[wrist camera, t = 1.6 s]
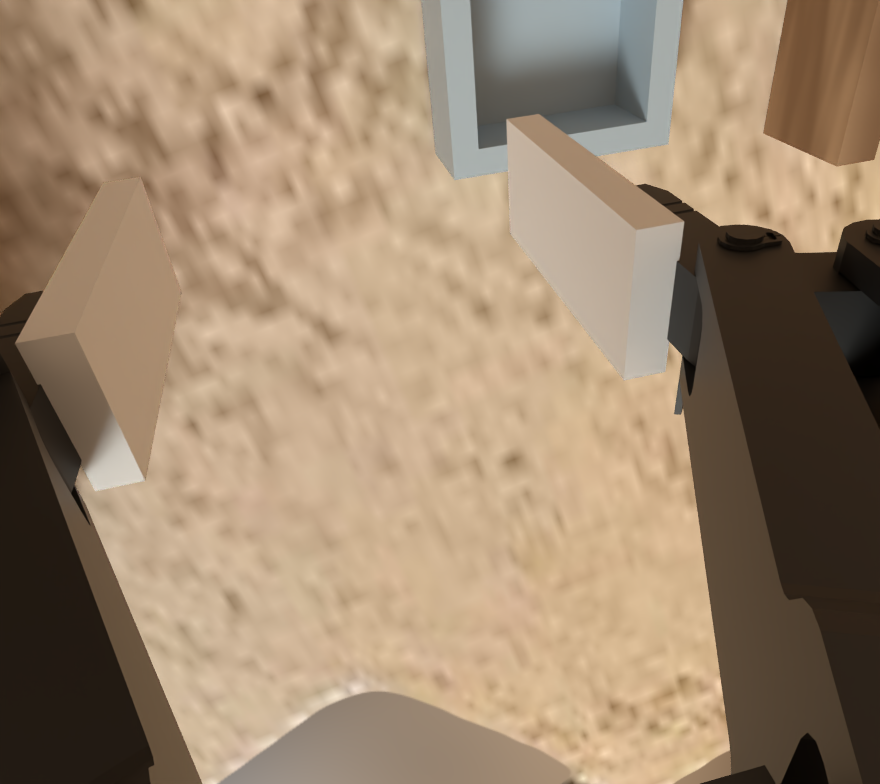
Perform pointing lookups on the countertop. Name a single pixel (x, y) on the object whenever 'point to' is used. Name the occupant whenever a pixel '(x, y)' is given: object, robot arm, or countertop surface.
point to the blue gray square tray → (549, 74)
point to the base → (828, 80)
